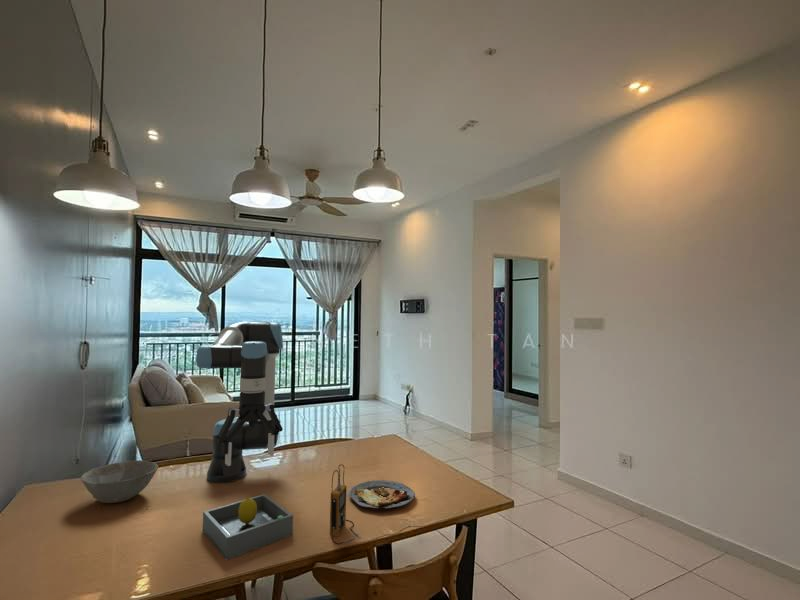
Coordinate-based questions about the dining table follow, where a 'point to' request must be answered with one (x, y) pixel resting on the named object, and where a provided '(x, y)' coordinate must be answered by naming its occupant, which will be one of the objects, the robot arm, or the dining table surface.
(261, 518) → the gray picture frame
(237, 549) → the gray open box
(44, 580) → the dining table surface
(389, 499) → the food plate
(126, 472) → the ceramic bowl
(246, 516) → the lemon
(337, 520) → the multimeter
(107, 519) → the dining table surface
